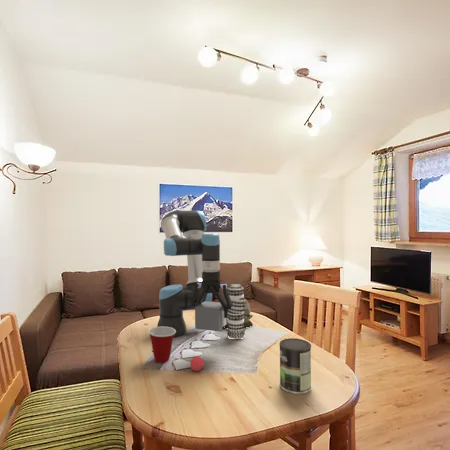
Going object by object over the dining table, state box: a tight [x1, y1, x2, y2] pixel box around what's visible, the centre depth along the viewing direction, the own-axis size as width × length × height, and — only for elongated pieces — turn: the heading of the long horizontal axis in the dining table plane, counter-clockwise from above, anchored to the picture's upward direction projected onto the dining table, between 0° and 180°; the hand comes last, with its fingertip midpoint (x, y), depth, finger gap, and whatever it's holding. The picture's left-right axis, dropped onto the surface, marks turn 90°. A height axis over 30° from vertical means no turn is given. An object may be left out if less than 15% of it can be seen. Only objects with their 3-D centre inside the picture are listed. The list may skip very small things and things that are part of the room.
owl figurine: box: [224, 298, 254, 329], centre depth 168 cm, size 18×12×17 cm, turn 108°
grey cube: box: [194, 301, 227, 332], centre depth 130 cm, size 10×10×9 cm
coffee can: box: [278, 337, 312, 395], centre depth 104 cm, size 10×10×14 cm
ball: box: [189, 355, 205, 372], centre depth 117 cm, size 5×5×5 cm
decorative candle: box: [226, 283, 246, 340], centre depth 151 cm, size 9×9×25 cm
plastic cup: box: [148, 326, 176, 364], centre depth 126 cm, size 11×11×12 cm
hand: (211, 324), depth 130 cm, fingers closed on grey cube, 10 cm apart
